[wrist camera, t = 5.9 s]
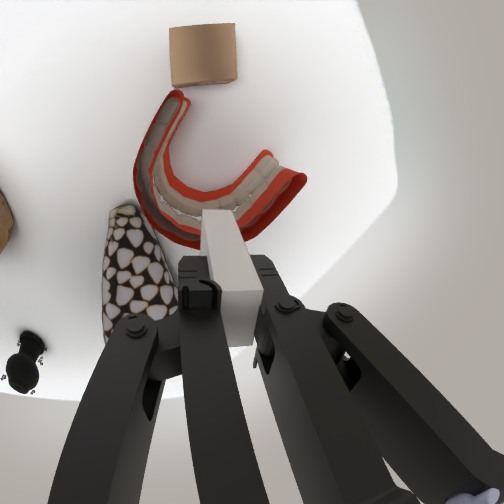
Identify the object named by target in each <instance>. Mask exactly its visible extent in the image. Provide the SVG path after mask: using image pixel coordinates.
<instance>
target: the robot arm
mask: <svg viewBox="0 0 504 504" xmlns="http://www.w3.org/2000/svg"><path fill="white" fill-rule="evenodd" d="M178 284H179V288H178V307H177V309H176V311H175V312H174V313H173V314H171V315H170V316H168V317H165V318H163V319H159V320H154V319H153V318H151V317H150V316H148V315H145V314H142V313H133V314H129V315H126V316H124V317H123V318H121V319H120V320H119V321H118V322H117V324H116V325H115V327H114V329H113V331H112V333H111V335H110V337H109V339H108V341H107V343H106V345H105V348H104V350H103V352H102V354H101V356H100V358H99V360H98V362H97V365H96V367H95V369H94V371H93V373H92V376H91V378H90V380H89V383H88V385H87V387H86V390H85V392H84V394H83V397H82V399H81V402H80V404H79V407H78V409H77V412H76V414H75V417H74V419H73V422H72V425H71V428H70V430H69V433H68V436H67V439H66V442H65V445H64V448H63V451H62V454H61V457H60V460H59V463H58V467H57V470H56V473H55V477H54V480H53V484H52V487H51V491H50V496H49V500H48V504H139V500H140V494H141V489H142V483H143V478H144V473H145V468H146V463H147V458H148V453H149V449H150V444H151V439H152V435H153V430H154V426H155V422H156V417H157V413H158V409H159V405H160V401H161V397H162V393H163V389H164V385H165V381H166V379H169V378H172V377H175V376H178V375H181V374H182V378H183V389H184V399H185V409H186V418H187V425H188V433H189V441H190V448H191V454H192V460H193V467H194V473H195V478H196V484H197V489H198V494H199V499H200V504H270V503H269V500H268V497H267V494H266V490H265V487H264V484H263V480H262V477H261V474H260V470H259V467H258V463H257V460H256V456H255V453H254V449H253V445H252V442H251V439H250V434H249V431H248V427H247V423H246V419H245V415H244V411H243V407H242V404H241V399H240V395H239V391H238V387H237V383H236V379H235V374H234V370H233V365H232V361H231V357H230V352H229V348H228V347H238V346H250V345H253V340H254V336H255V339H256V342H257V349H256V353H255V357H254V362H253V368H256V366H257V362H258V365H259V368H260V371H261V375H262V378H263V381H264V384H265V388H266V391H267V394H268V397H269V400H270V404H271V407H272V410H273V413H274V416H275V420H276V422H277V426H278V429H279V432H280V435H281V438H282V441H283V444H284V447H285V450H286V453H287V456H288V459H289V462H290V465H291V468H292V471H293V474H294V477H295V480H296V483H297V486H298V489H299V491H300V494H301V497H302V500H303V503H304V504H420V502H419V500H421V501H422V502H423V503H424V504H503V503H504V455H503V454H501V453H498V452H496V451H494V450H492V448H491V447H490V446H489V445H488V444H487V443H486V442H485V441H484V439H482V437H481V436H480V435H479V434H478V433H477V432H476V430H475V429H474V428H473V427H472V426H471V425H470V424H469V423H468V422H467V421H466V420H465V418H464V417H462V415H461V414H460V413H459V412H458V411H457V410H456V409H455V408H454V407H453V406H452V405H451V404H450V402H449V401H447V399H446V398H445V397H444V396H443V395H442V394H441V393H440V392H439V391H438V390H437V389H436V388H435V387H434V386H433V385H432V384H431V383H430V382H429V381H428V380H427V379H426V378H425V377H424V376H423V374H422V373H421V372H420V371H419V370H418V369H417V368H416V367H415V366H414V365H413V364H412V363H411V362H410V361H409V360H408V359H407V358H406V357H404V355H403V354H402V353H401V352H400V351H399V350H398V349H397V348H396V347H395V346H394V345H393V344H392V343H391V342H390V341H389V340H388V339H387V338H386V337H385V336H384V335H383V334H382V333H380V332H379V331H378V330H377V329H376V328H375V327H374V326H373V325H372V324H371V323H370V322H369V321H368V320H367V319H366V318H365V317H364V316H363V315H362V314H361V313H360V312H359V311H358V310H357V309H355V308H354V307H352V306H351V305H348V304H346V303H333V304H331V305H329V307H328V309H327V311H326V312H321V311H315V310H309V309H306V308H305V306H304V305H303V304H302V302H301V301H300V300H299V299H297V298H295V297H293V296H290V295H289V293H288V291H287V289H286V287H285V285H284V283H283V281H282V280H281V278H280V276H279V274H278V272H277V270H276V268H275V266H274V264H273V262H272V261H271V260H270V259H269V258H268V257H266V256H265V255H249V253H248V250H247V248H246V245H245V243H244V240H243V238H242V235H241V233H240V230H239V228H238V225H237V223H236V221H235V218H234V216H233V213H232V211H231V210H213V209H202V224H201V245H200V256H183V257H182V259H181V260H180V261H179V263H178ZM345 352H347V353H348V355H349V356H350V359H349V358H347V357H345V356H344V354H345ZM382 457H383V458H384V459H385V461H386V462H387V463H388V464H389V465H390V467H391V468H392V469H393V470H394V471H395V472H396V474H397V475H398V476H399V477H400V478H401V480H402V481H403V482H404V483H405V484H406V485H407V486H408V488H409V489H410V490H411V491H412V492H413V493H414V494H413V493H412V492H410V491H408V490H405V489H402V488H399V487H397V486H396V484H395V483H394V481H393V479H392V477H391V475H390V473H389V471H388V469H387V467H386V465H385V463H384V460H383V458H382ZM417 498H419V500H418V499H417Z"/></svg>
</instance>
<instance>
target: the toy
mask: <svg viewBox="0 0 504 504" xmlns="http://www.w3.org/2000/svg"><path fill="white" fill-rule="evenodd" d="M189 106H190V100H189V99H188V98H185V97H184V94H183V93H182V91H180V90H176V89H175V90H172V91H171V92H170V93H169V94H168V95H167V97H166V98H165V100H164V101H163V103H162V105H161V106H160V108H159V110H158V112H157V113H156V115H155V117H154V119H153V121H152V122H151V124H150V126H149V128H148V131H147V133H146V135H145V137H144V139H143V142H142V144H141V146H140V149H139V151H138V154H137V157H136V160H135V163H134V168H133V182H134V189H135V193H136V196H137V198H138V201H139V203H140V205H141V208H142V210H143V212H144V214H145V216H146V218H147V220H148V222H149V223H150V225H151V226H152V227H153V228H154V229H156V230H157V231H158V232H160V233H161V234H162V235H164V236H165V237H167V238H168V239H170V240H171V241H173V242H174V243H177V244H180V245H183V246H187V247H190V248H193V249H197V250H200V245H201V224H202V220H201V221H200V222H199V221H198V220H196V219H194V218H192V217H189V216H186V215H182V214H180V215H178V214H177V212H176V211H175V210H174V209H173V208H175V209H179V210H180V211H181V212H183V213H185V214H188V215H191V216H196V217H197V216H202V209H213V210H231V211H233V210H234V209H235V208H236V206H239V207H238V208H237V210H236V212H232V213H233V216H234V218H235V221H236V223H237V225H238V228H239V230H240V233H241V235H242V238H243V240H244V242H246V241H248V240H250V239H253V238H254V237H256V236H257V235H258V234H260V233H261V232H262V231H263V230H264V229H265V228H266V227H267V226H268V225H269V224H270V223H271V222H272V221H273V220H274V219H275V218H276V217H277V216H278V215H279V214H280V213H281V212H282V211H283V210H284V209H285V207H286V206H287V205H288V204H289V203H290V202H291V201H292V200H293V198H294V197H295V196H296V195H297V194H298V192H299V191H300V190H301V189H302V188H303V186H304V185H305V184H306V182H307V176H306V175H305V174H304V173H298V172H295V171H292V170H290V169H287V168H284V167H282V166H279V162H278V161H277V160H276V159H274V158H273V155H272V153H271V152H270V151H268V150H263V151H262V152H261V153H260V154H259V156H258V157H257V158H256V159H255V160H254V162H253V163H252V164H251V165H250V166H249V167H248V168H247V170H246V171H245V172H244V173H243V174H242V175H241V176H240V177H239V178H238V179H237V180H236V181H235V182H234V183H233V184H232V185H229V186H227V187H224V188H222V189H219V190H216V191H210V192H205V193H204V192H201V191H198V190H195V189H192V188H190V187H187V186H186V185H185V184H184V183H182V182H181V181H180V180H179V179H177V178H176V177H175V176H174V174H173V171H172V168H171V165H170V161H169V144H170V142H171V140H172V137H173V135H174V133H175V131H176V129H177V127H178V125H179V123H180V122H181V120H182V118H183V117H184V115H185V113H186V112H187V110H188V108H189ZM153 176H154V182H155V185H156V187H157V189H156V187H155V185H154V184H153ZM265 179H266V180H265ZM264 182H265V183H264ZM157 190H158V192H159V194H160V195H162V197H163V199H164V200H165V201H166V202H167V203H168V204H170V205H171V206H172V207H173V208H171V207H170V206H169V205H167V204H166V203H164V202H160V197H159V194H158V192H157ZM248 199H249V200H248Z"/></svg>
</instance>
